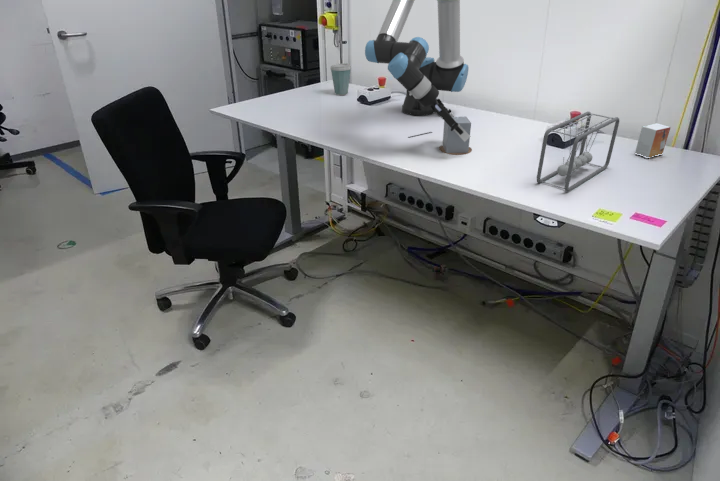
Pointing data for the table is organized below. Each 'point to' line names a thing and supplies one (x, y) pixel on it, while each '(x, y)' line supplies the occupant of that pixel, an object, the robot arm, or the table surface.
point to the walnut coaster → (453, 153)
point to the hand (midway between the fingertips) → (463, 133)
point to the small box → (652, 139)
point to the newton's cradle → (583, 157)
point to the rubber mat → (420, 134)
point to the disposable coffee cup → (341, 78)
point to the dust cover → (456, 137)
